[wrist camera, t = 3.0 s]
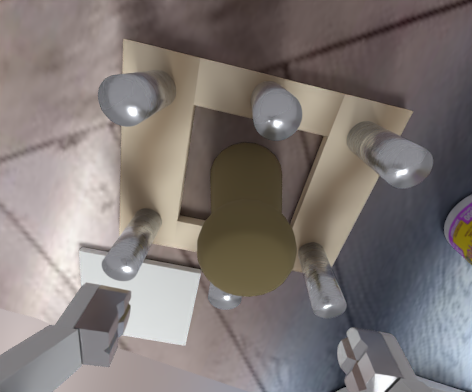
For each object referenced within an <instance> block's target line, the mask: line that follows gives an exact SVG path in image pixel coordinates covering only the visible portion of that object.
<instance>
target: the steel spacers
mask: <svg viewBox="0 0 472 392" xmlns="http://www.w3.org/2000/svg"><path fill="white" fill-rule="evenodd" d="M175 96H176V86H175V83H174V81H173V79H172V78H171V76H170V75H168V74H167V73H166V72H164V71H161V70H150V71H142V72H134V73H126V74H119V75H112V76H109V77H107V78H106V79H105V80H104V81H103V82H102V83H101V85H100V87H99V91H98V100H99V104H100V107H101V109H102V111H103V113H104V114H105V115H106V116H107V117H108V118H109V119H110V120H111V121H112V122H114V123H116V124H118V125H121V126H125V127H130V126H135V125H137V124H139V123H141V122H142V121H144V120H145V119H147V118H149V117H150V116H152V115H154V114H155V113H157V112H158V111H160V110H162V109H163V108H165V107H167V106H168V105H170V104H171V103H172V102H173V101H174V99H175ZM251 107H252V115H253V122H254V126H255V128H256V130H257V131H258V133H259V134H260V135H261V136H263V137H264V138H266V139H268V140H273V141H280V140H284V139H286V138H288V137H290V136H291V135H293V134H294V133H295V132H296V131H297V129H298V128H299V126H300V124H301V120H302V108H301V105H300V102H299V101H298V99H297V98H296V97H295V96H294V95H292V94H291V93H290V92H289V91H287V90H286V89H285V88H283V87H282V86H281V85H279V84H278V83H276V82H274V81H265V82H262V83H260V84H259V85H257V86H256V87H255V89H254V90H253V92H252V95H251ZM347 146H348V148H349V149H350V150H351V151H352V152H353V153H354V154H356V155H357V156H358V157H359V158H360V159H361V160H362V161H364V162H365V163H366V164H367V165H368V166H369V167H370V168H372V169H373V170H374V171H375V172H376V173H377V174H379V175H380V176H381V177H382V178H383V179H384V180H385V181H387V182H388V183H389V184H390V185H391V186H393V187H395V188H400V189H405V188H410V187H413V186H415V185H417V184H419V183H421V182H422V181H423V180H424V179H425V178H426V177H427V176H428V175H429V173H430V171H431V169H432V166H433V157H432V155H431V153H430V152H429V151H428V150H427V149H425V148H423V147H421V146H419V145H417V144H415V143H413V142H411V141H409V140H407V139H405V138H403V137H401V136H399V135H397V134H395V133H393V132H391V131H389V130H387V129H385V128H383V127H381V126H379V125H377V124H375V123H373V122H370V121H364V122H360V123H358V124H356V125H355V126H354V127H353V128H352V129H351V130H350V131H349V133H348V136H347ZM161 225H162V219H161V217H160V215H159V214H158V213H157V212H156V211H154V210H152V209H148V208H144V209H140V210H139V211H137V212H136V214H135V215H134V217H133V218H132V219H131V221H130V222H129V224H128V225H127V227H126V228H125V229H124V231H123V232H122V234H121V235H120V236H119V238H118V239H117V241H116V242H115V244H114V245H113V246H112V248H111V249H110V251H109V252H108V253H107V255H106V256H105V258H104V259H103V261H102V269H103V271H104V272H105V274H106V275H108V276H109V277H110V278H112V279H114V280H117V281H129V280H132V279H133V278H134V277H135V276H136V275H137V273H138V271H139V269H140V267H141V265H142V263H143V261H144V259H145V257H146V255H147V253H148V251H149V249H150V247H151V245H152V243H153V241H154V239H155V237H156V235H157V233H158V231H159V229H160V227H161ZM298 257H299V261H300V264H301V268H302V272H303V276H304V279H305V283H306V287H307V290H308V294H309V298H310V302H311V305H312V309H313V312H314V313H315V314H316V315H317V316H319V317H321V318H334V317H337V316H339V315H341V314H342V313H343V312H344V311H345V310H346V307H347V304H346V301H345V299H344V296H343V294H342V291H341V289H340V287H339V284H338V282H337V279H336V277H335V275H334V272H333V270H332V267H331V265H330V262H329V260H328V258H327V255H326V253H325V250H324V248H323V246H322V245H320V244H319V243H315V242H310V243H306V244H304V245H302V246H301V247H300V249H299V250H298ZM208 300H209V302H210V303H211V304H212V305H213V306H214V307H216V308H219V309H223V310H228V309H233V308H235V307H237V306H238V305H239V304H240V303H241V300H242V296H236V295H232V294H229V293H226V292H223V291H222V290H220V289H219V288H217V287H215V286H214V285H213V284H212V283H211V282H210V288H209V294H208Z"/></svg>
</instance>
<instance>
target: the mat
mask: <svg viewBox="0 0 472 392" xmlns="http://www.w3.org/2000/svg"><path fill="white" fill-rule="evenodd" d="M107 253H108V252H106V251H101V250H96V249H90V248H85V247H82V248H81V249H80V250H79V259H80V273H81V286H83V285H84V284H85V283H86V282H87V283H93V284H99V285H104V286H109V287H114V288H119V289H124V290H129V291H131V299H130V301H129V304H130V305H131V311H130V316H129V320H128V323H127V326H126V329H125V331H124V334H123V335H124V336H130V337H136V338H142V339H148V340H154V341H160V342H166V343H172V344H178V345H184V346H185V345H186V340H187V335H188V331H189V326H190V321H191V317H192V312H193V308H194V303H195V298H196V294H197V289H198V284H199V280H200V275H201V269H196V268H191V267H185V266H180V265H175V264H170V263H164V262H159V261H154V260H148V259H144V261H143V263H142V265H141V267H140V269H139V271H138V273H137V275H136V276H135V277H134V278H133V279H132V280H129V281H117V280H114V279H112V278H110V277H109V276H108V275H106V274H105V272H104V271H103V269H102V261H103V259H104V258H105V256H106V255H107Z"/></svg>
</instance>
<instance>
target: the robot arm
mask: <svg viewBox="0 0 472 392" xmlns="http://www.w3.org/2000/svg"><path fill="white" fill-rule="evenodd" d="M130 299H131V291H129V290H124V289H119V288H114V287H109V286H104V285H99V284H93V283H87V282H86V283H85V284H84V285H83V286H81V288H80V289H79V291H78V292H77V294H76V295H75V297H74V298H73V300H72V301H71V302H70V304H69V305H68V307H67V308H66V310H65V311H64V313H63V314H62V315H61V317H60V318H59V320H58V321H57V323H56V324H55V325H49V326H47V327H45V328H44V329H43V330H41V331H39V332H37V333H36V334H34V335H32V336H31V337H29V338H27V339H26V340H24V341H23V342H21V343H19V344H18V345H16V346H14V347H13V348H11V349H9V350H8V351H6V352H4V353H3V354H1V355H0V392H53V391H54V390H55V389H57V388H58V387H59V386H60V385H61V384H62V383H63V382H64V381H66V380H67V379H68V378H69V377H70V376H71V375H72V374H73V373H74V372H76V370H78V369H79V368H80V367H81V366H82V364H86V365H94V366H104V367H109V366H110V364H111V362H112V359H113V357H114V355H115V352H116V350H117V348H118V338H119V337H120V336H121V335H123V334H124V331H125V329H126V326H127V323H128V320H129V316H130V311H131V305H130V304H129V301H130ZM347 336H348V337H347V338H345V339H343V340H341V342H340V343H339V345H338V350H337V356H338V362H339V365H340V368H341V369H342V370H343V371H344V372H345V373H346V376H345V380H344V381H345V384H346V387H345V388H342V389H340V390H338V391H336V392H465V391H462V390H459V389H456V388H453V387H450V386H446V385H443V384H440V383H437V382H434V381H431V380H428V379H425V378H422V377H419V376H416V375H415V373H414V371H413V369H412V368H411V366H410V364H409V362H408V360H407V358H406V356H405V355H404V353H403V351H402V349H401V347H400V345H399V344H398V342H397V340H396V338H395V337H394V336H393V335H392V334H390V333H384V332H377V331H374V330H367V329H361V328H354V327H352V328H350V329H349V330H348V331H347Z"/></svg>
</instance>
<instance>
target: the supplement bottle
mask: <svg viewBox="0 0 472 392" xmlns="http://www.w3.org/2000/svg"><path fill="white" fill-rule="evenodd" d="M444 234H445V237H446V240H447V241H448V243H449V244H450V245H451V246H452V247H453V248H454V249H455V250H456V251H457V252H458V253H459V254H461V255H462V256H463V257H464V258H465V259H466V260H467V261H468V262H469V263H470V264H471V265H472V194H471V195H469V196H468V197H466V198H464V199H463V200H462V201H460V202H459V203H458V204H457V205H456V206H455V207H454V208H453V209H452V210H451V212H450V213H449V215H448V217H447V219H446V221H445V225H444Z"/></svg>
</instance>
